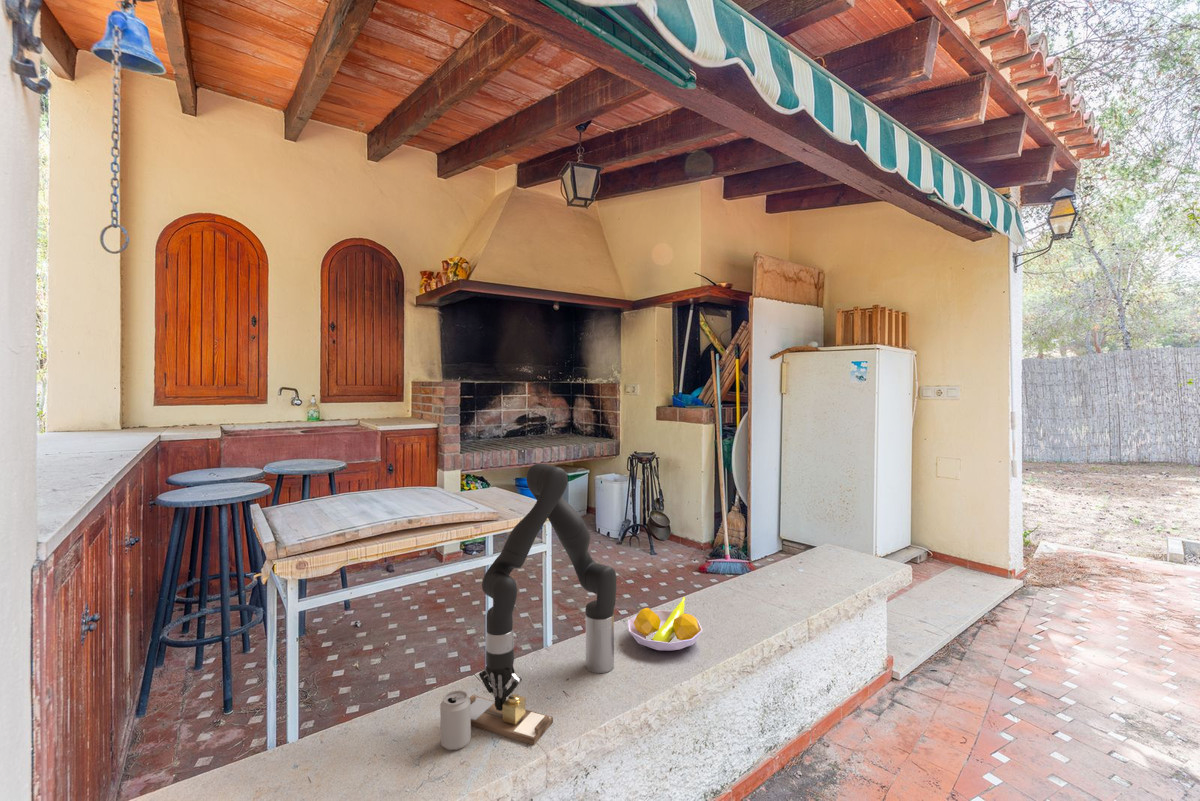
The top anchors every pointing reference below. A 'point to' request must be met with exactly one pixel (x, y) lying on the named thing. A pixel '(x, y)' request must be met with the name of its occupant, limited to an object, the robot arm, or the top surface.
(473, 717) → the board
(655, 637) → the fruit bowl
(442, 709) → the can
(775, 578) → the top surface
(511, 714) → the brass knob
